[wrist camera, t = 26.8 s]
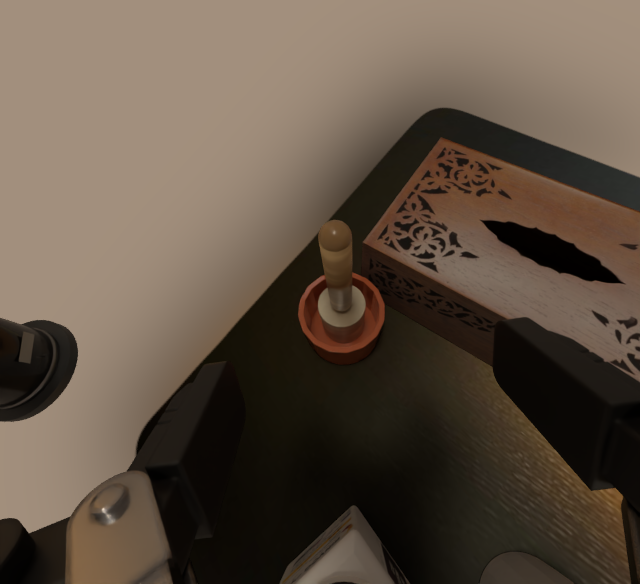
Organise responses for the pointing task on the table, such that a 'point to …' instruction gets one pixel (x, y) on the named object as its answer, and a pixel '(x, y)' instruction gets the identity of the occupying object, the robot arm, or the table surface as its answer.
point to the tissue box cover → (508, 256)
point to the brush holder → (315, 329)
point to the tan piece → (339, 285)
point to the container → (345, 556)
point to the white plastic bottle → (520, 571)
